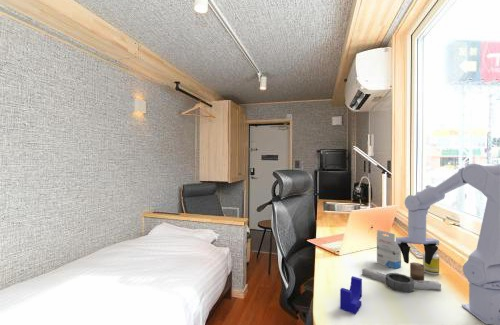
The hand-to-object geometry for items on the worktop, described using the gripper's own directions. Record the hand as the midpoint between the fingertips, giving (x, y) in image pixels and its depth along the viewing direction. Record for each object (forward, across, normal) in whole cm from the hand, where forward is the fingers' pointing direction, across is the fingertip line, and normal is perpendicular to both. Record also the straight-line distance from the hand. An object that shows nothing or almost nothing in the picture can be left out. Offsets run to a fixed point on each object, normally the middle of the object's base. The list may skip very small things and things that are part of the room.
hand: (416, 263), depth 96 cm
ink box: (+7, +4, -15) cm, 17 cm away
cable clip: (+7, +29, +20) cm, 36 cm away
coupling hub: (+7, 0, 0) cm, 7 cm away
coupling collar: (+7, +7, +3) cm, 10 cm away
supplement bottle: (+7, -10, -9) cm, 15 cm away
